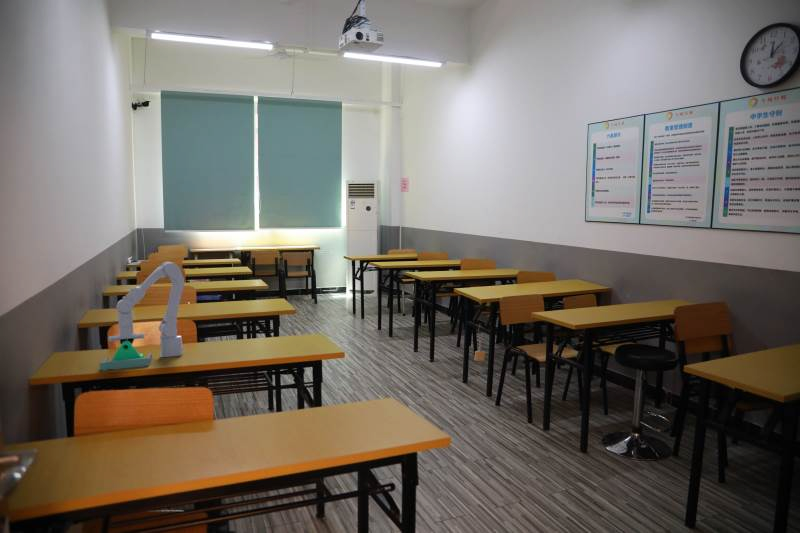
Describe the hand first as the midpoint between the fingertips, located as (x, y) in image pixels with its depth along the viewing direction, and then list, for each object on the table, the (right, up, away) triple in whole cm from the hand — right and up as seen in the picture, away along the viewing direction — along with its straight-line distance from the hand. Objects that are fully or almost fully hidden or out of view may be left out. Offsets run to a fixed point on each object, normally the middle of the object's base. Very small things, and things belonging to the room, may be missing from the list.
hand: (128, 355), depth 244 cm
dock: (+1, -3, -4) cm, 5 cm away
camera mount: (+1, -3, -2) cm, 4 cm away
